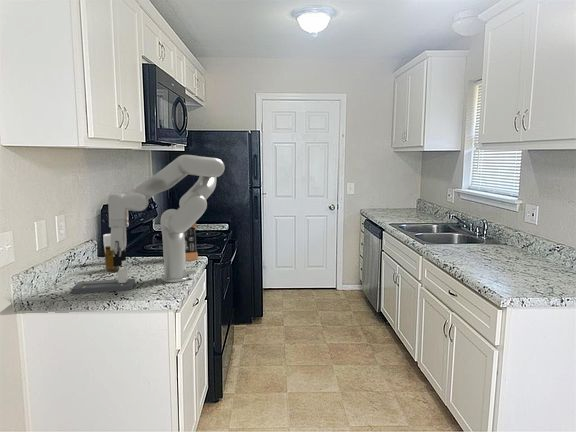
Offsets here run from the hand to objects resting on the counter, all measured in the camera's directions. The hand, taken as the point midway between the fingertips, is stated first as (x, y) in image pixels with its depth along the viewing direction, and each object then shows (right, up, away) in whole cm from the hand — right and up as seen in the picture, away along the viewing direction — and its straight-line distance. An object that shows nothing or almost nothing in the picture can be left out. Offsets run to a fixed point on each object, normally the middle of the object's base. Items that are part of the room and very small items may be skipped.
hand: (119, 263), depth 176 cm
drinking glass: (-21, -5, +41) cm, 47 cm away
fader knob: (+1, -8, +2) cm, 8 cm away
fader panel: (-7, -11, 0) cm, 12 cm away
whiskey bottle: (+16, -3, +50) cm, 53 cm away
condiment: (-14, -7, +28) cm, 32 cm away
